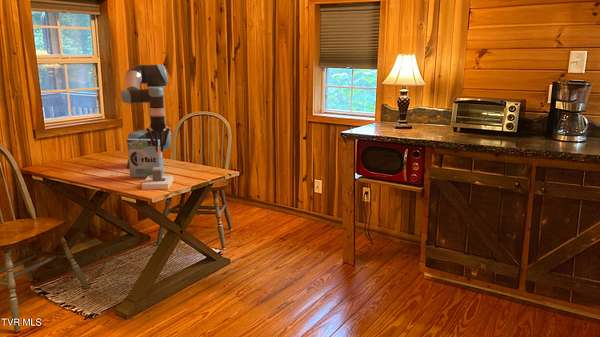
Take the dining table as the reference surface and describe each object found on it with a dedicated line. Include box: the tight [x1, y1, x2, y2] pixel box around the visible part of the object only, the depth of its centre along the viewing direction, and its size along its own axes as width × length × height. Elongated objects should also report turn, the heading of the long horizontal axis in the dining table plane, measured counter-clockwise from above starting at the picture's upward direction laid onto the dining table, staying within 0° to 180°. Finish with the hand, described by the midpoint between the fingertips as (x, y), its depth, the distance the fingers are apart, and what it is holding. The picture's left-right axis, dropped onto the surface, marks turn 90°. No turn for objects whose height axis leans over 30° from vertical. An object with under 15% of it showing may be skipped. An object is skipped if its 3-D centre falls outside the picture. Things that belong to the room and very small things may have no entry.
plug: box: [152, 167, 163, 181], centre depth 273 cm, size 4×4×10 cm
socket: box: [141, 175, 174, 191], centre depth 274 cm, size 18×14×4 cm
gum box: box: [126, 138, 165, 179], centre depth 289 cm, size 20×5×23 cm, turn 81°
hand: (160, 157), depth 273 cm, fingers closed
